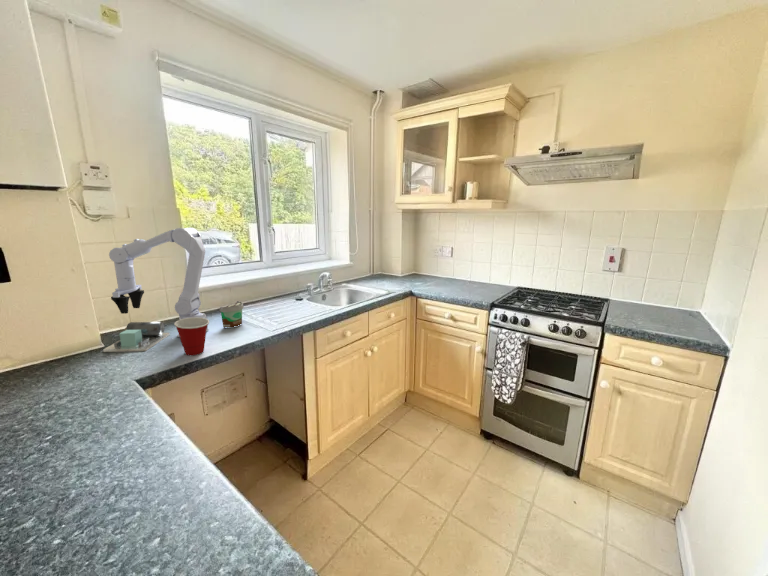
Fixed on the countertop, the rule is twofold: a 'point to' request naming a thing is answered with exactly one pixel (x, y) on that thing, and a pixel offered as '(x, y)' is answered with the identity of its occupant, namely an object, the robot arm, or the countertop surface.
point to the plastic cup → (192, 334)
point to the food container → (232, 314)
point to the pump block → (130, 337)
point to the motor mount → (150, 337)
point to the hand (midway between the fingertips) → (130, 310)
